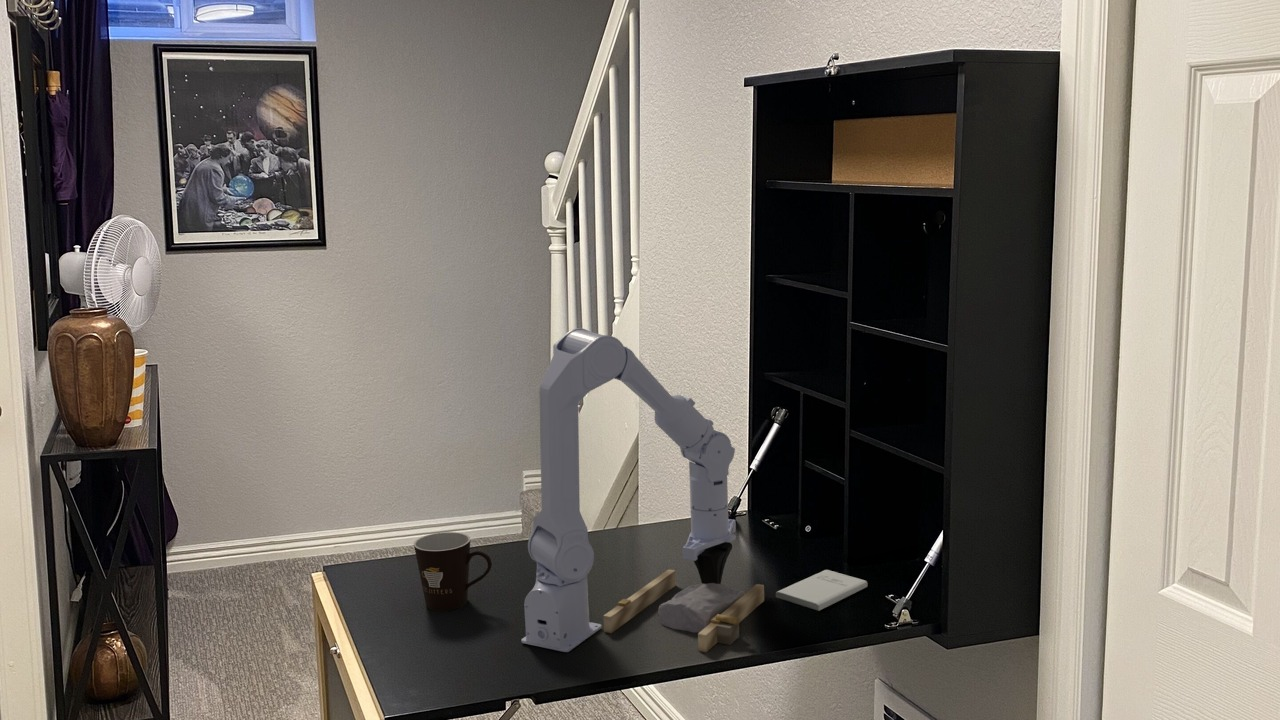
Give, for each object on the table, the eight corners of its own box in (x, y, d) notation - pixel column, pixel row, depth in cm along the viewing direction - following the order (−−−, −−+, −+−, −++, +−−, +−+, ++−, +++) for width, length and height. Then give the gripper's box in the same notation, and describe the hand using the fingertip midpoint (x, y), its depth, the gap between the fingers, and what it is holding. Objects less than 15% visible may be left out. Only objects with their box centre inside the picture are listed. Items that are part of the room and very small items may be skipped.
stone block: (654, 637, 171) (712, 637, 165) (648, 605, 171) (705, 604, 165) (696, 611, 181) (752, 611, 175) (690, 581, 180) (746, 579, 175)
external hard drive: (775, 601, 179) (825, 577, 187) (818, 614, 173) (867, 590, 182) (775, 590, 179) (824, 568, 187) (818, 604, 173) (867, 580, 181)
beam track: (723, 655, 159) (722, 631, 159) (604, 631, 168) (602, 609, 168) (780, 603, 176) (779, 581, 176) (668, 584, 186) (668, 563, 185)
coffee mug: (407, 604, 182) (402, 543, 180) (451, 587, 188) (447, 528, 186) (454, 623, 174) (449, 559, 172) (498, 605, 180) (494, 543, 178)
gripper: (712, 523, 170) (714, 611, 172) (752, 495, 182) (754, 577, 184) (669, 517, 173) (672, 603, 176) (711, 490, 185) (714, 571, 188)
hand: (711, 590), depth 180 cm, fingers closed
